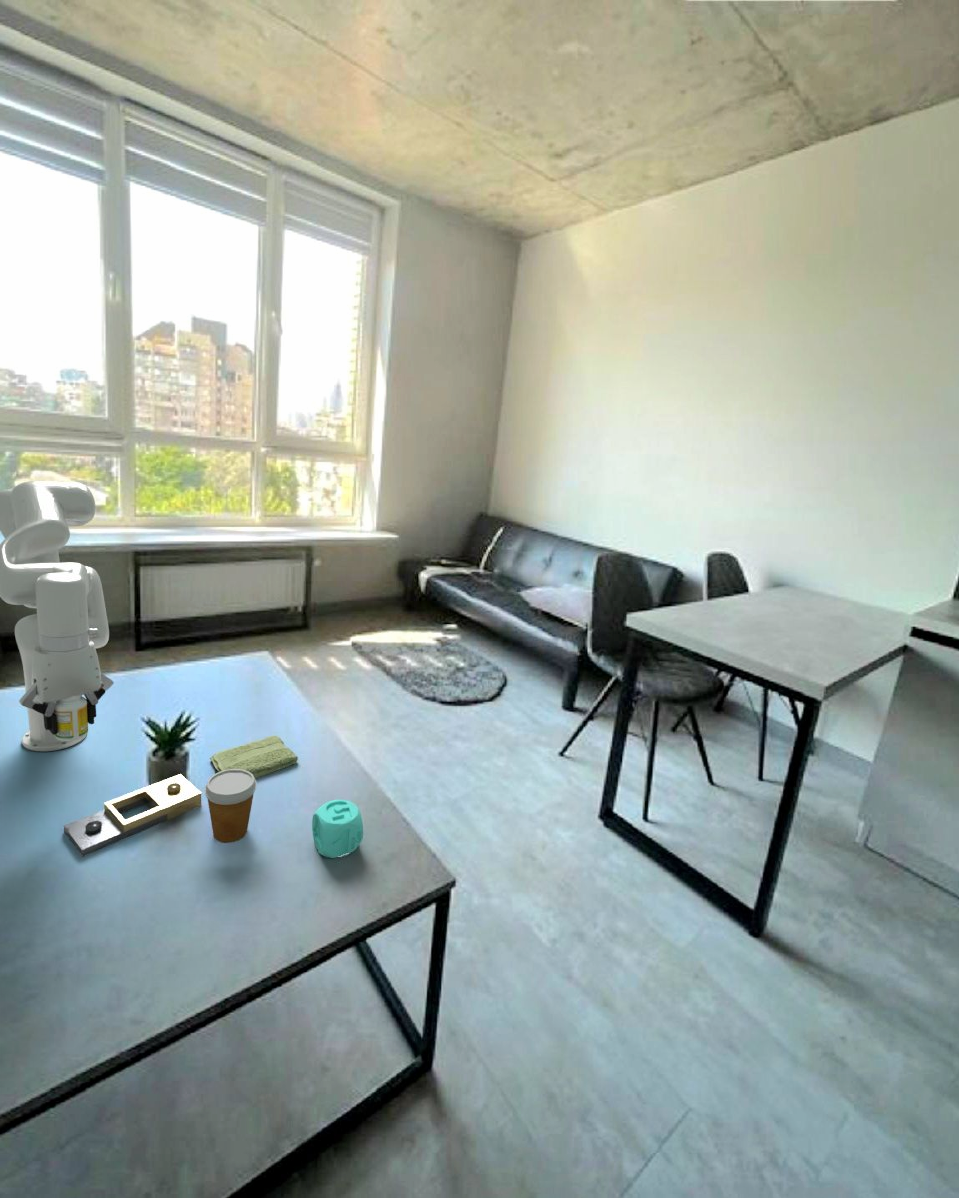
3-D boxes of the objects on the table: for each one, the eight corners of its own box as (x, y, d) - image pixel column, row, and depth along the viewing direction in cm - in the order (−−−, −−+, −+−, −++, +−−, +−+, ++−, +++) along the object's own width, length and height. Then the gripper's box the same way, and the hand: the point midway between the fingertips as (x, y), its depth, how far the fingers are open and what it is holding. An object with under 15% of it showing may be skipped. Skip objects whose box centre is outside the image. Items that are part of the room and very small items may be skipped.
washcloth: (206, 762, 137) (206, 750, 136) (277, 742, 149) (278, 731, 148) (227, 790, 128) (227, 777, 127) (300, 766, 140) (301, 755, 139)
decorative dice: (322, 863, 110) (324, 828, 108) (310, 837, 117) (312, 804, 115) (361, 852, 115) (364, 818, 112) (348, 827, 121) (351, 795, 119)
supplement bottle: (59, 745, 107) (56, 699, 104) (51, 733, 110) (47, 688, 108) (92, 736, 111) (90, 692, 109) (83, 725, 114) (80, 681, 112)
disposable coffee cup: (265, 826, 118) (267, 776, 115) (232, 855, 109) (232, 802, 106) (228, 811, 121) (229, 762, 117) (193, 839, 112) (192, 786, 109)
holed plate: (64, 832, 109) (62, 814, 108) (180, 786, 126) (180, 770, 125) (82, 856, 104) (81, 838, 103) (201, 805, 121) (201, 789, 120)
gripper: (108, 625, 114) (112, 706, 119) (0, 642, 101) (9, 733, 106) (124, 636, 110) (127, 720, 115) (13, 656, 96) (23, 750, 102)
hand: (71, 725), depth 110 cm, fingers closed on supplement bottle, 5 cm apart
